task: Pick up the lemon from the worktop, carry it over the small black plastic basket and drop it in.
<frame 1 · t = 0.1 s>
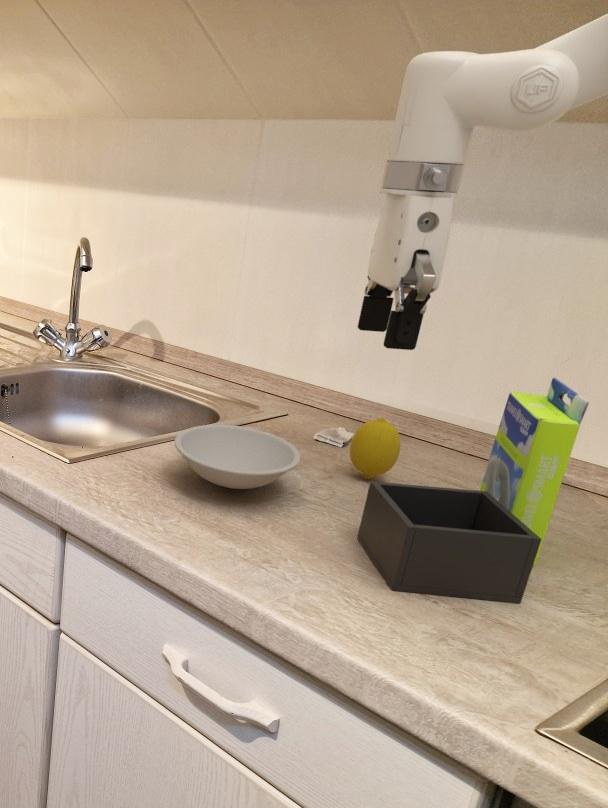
hand: (384, 339, 97), 18 cm above the worktop, tool pointing down, fingers open, 9 cm apart
dish: (229, 487, 103), on the worktop
lemon: (367, 480, 107), on the worktop
box: (501, 545, 91), on the worktop
basket: (433, 568, 84), on the worktop
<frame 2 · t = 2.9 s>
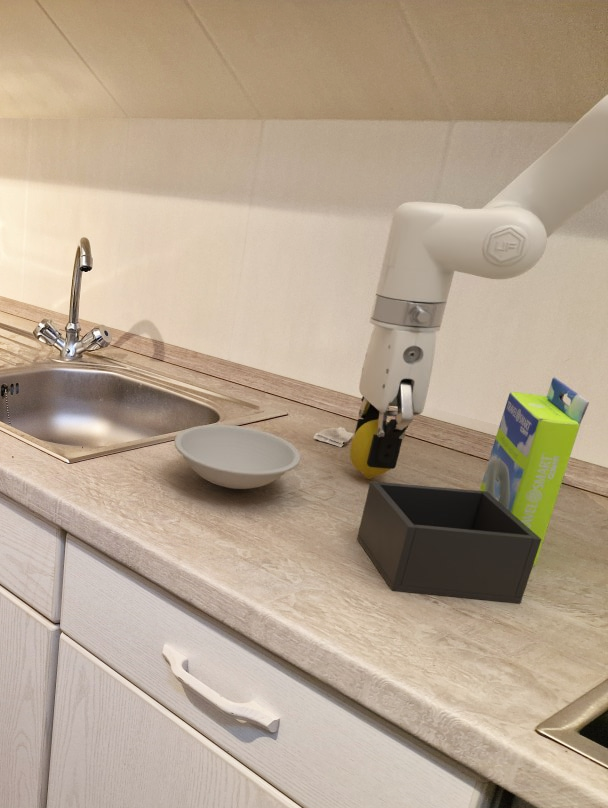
hand: (372, 456, 106), 3 cm above the worktop, tool pointing down, fingers closed on lemon, 5 cm apart
lemon: (367, 480, 107), on the worktop, touching gripper
everything else where it was.
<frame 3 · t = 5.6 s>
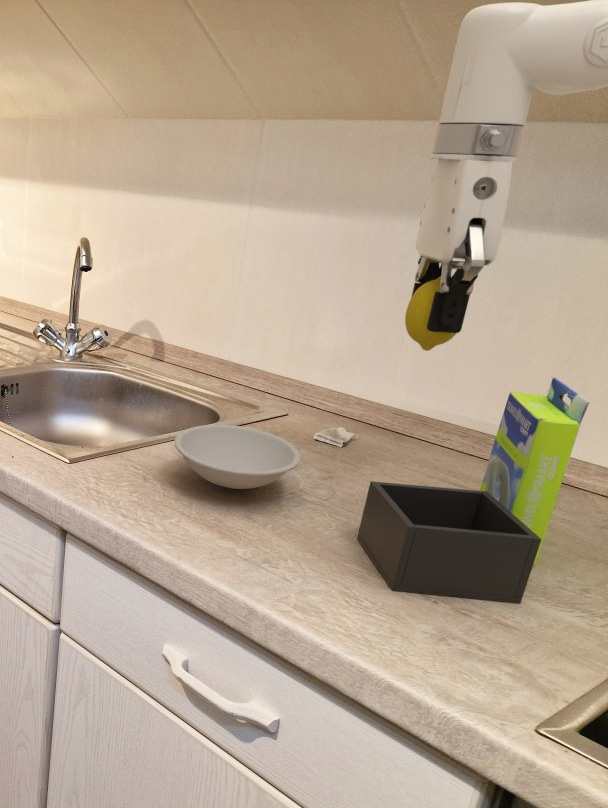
hand: (432, 324, 92), 21 cm above the worktop, tool pointing down, fingers closed on lemon, 5 cm apart
lemon: (425, 352, 93), point 18 cm above the worktop, touching gripper
everything else where it was.
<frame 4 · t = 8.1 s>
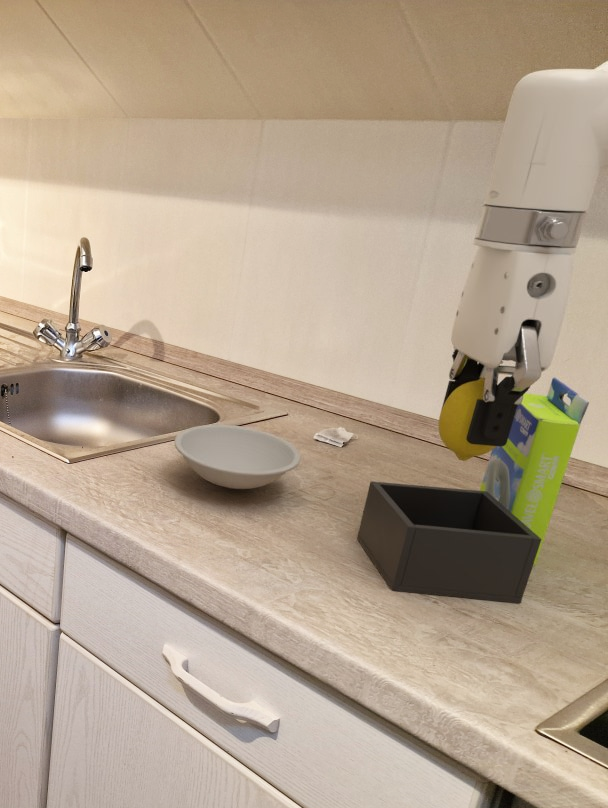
hand: (471, 431, 79), 14 cm above the worktop, tool pointing down, fingers closed on lemon, 5 cm apart
lemon: (461, 462, 80), point 11 cm above the worktop, touching gripper
everything else where it was.
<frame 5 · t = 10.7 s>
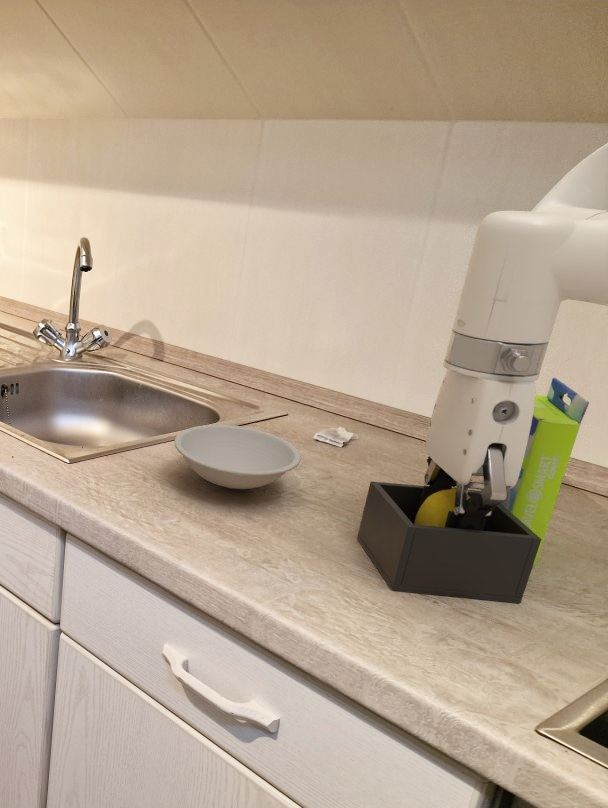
hand: (444, 536, 83), 4 cm above the worktop, tool pointing down, fingers closed on lemon, 5 cm apart
lemon: (436, 564, 84), resting on basket, touching gripper
everything else where it was.
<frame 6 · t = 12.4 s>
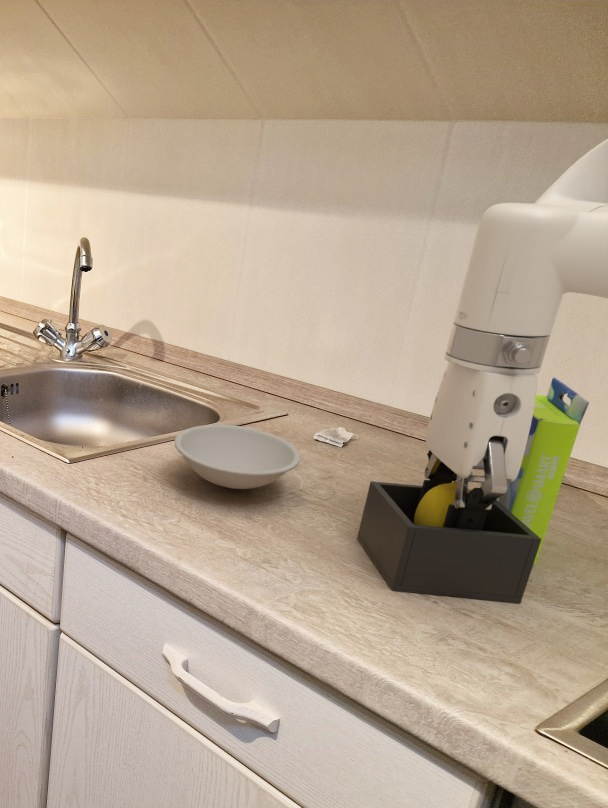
hand: (444, 530, 83), 4 cm above the worktop, tool pointing down, fingers closed on lemon, 5 cm apart
lemon: (436, 558, 84), point 1 cm above the worktop, touching gripper
everything else where it was.
when the fingers open (5 cm above the worktop, at t = 13.9 s): lemon stays where it is, resting on basket.
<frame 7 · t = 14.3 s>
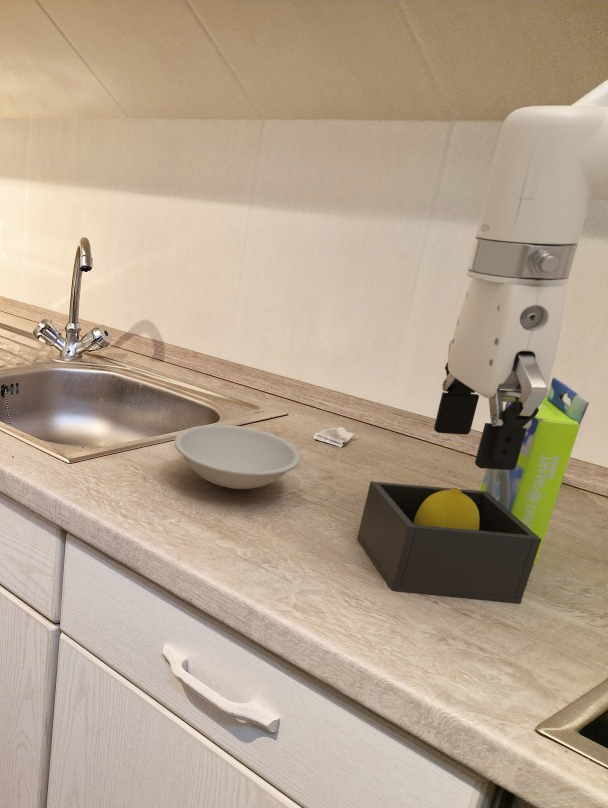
hand: (471, 449, 80), 13 cm above the worktop, tool pointing down, fingers open, 9 cm apart
lemon: (434, 565, 84), resting on basket
everything else where it was.
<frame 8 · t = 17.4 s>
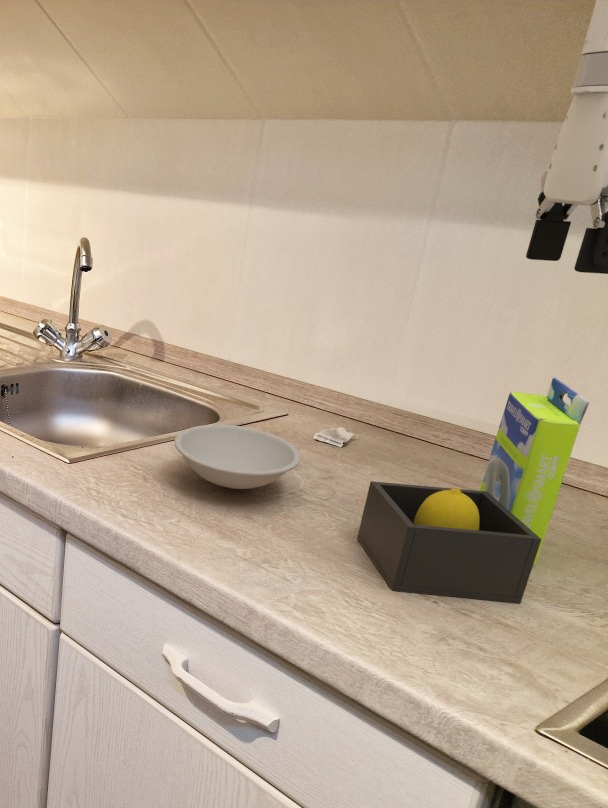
hand: (566, 265, 85), 28 cm above the worktop, tool pointing down, fingers open, 9 cm apart
nothing on the worktop moved.
at the end: lemon inside the target area in the basket (0.1 cm from its centre), point 0.4 cm above the basket's base; the gripper is holding nothing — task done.
